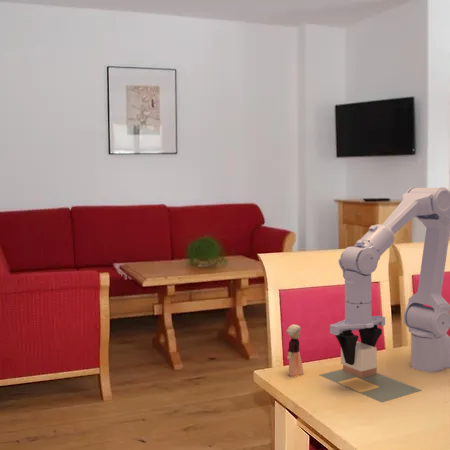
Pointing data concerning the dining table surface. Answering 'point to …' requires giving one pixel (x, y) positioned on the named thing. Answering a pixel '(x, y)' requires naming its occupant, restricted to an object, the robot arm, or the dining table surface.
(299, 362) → the grandmother figurine
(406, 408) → the dining table surface
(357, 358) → the cream brick
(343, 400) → the dining table surface
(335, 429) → the dining table surface
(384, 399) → the baseplate
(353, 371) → the terracotta brick
